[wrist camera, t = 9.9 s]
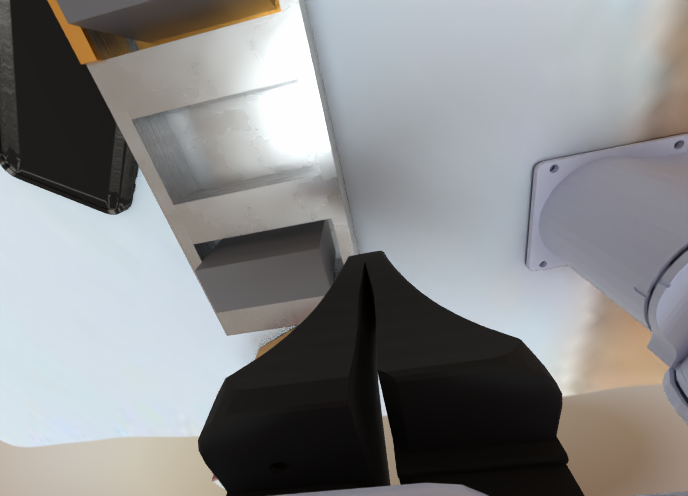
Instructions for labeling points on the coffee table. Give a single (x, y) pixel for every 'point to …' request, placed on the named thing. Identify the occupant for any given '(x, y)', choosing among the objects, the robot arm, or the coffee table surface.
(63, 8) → the dark grey block piece
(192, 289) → the coffee table surface
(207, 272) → the dark grey rectangular block
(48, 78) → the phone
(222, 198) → the rack
